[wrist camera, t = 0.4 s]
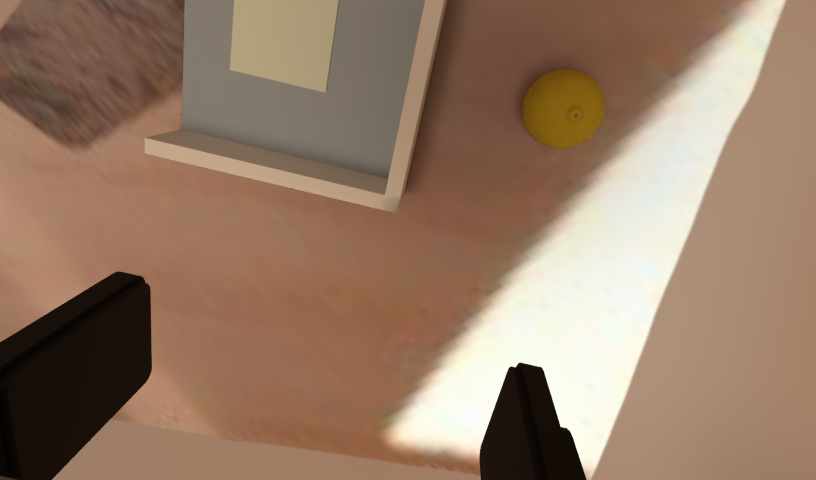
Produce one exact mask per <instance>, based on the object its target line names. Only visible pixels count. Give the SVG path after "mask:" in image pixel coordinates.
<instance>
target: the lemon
mask: <svg viewBox="0 0 816 480" xmlns="http://www.w3.org/2000/svg"><path fill="white" fill-rule="evenodd" d="M604 112H605V99H604V96H603V93H602V90H601V88H600V87H599V85H598V84H597V82H596V81H595V80H594V79H593V78H591V77H590V76H589V75H588V74H586V73H583V72H581V71H579V70H574V69H560V70H554V71H552V72H549V73H547V74H545V75H543V76H542V77H540V78H539V79H538V80H536V81H535V83H534V84H533V85H532V86H531V87H530V88H529V90H528V92H527V94H526V96H525V99H524V102H523V106H522V116H523V121H524V125H525V127H526V129H527V130H528V132H529V134H530V135H531V136H532V137H533V138H534V139H535V140H536V141H538V142H539V143H541V144H543V145H545V146H548V147H552V148H570V147H574V146H577V145H579V144H581V143H583V142H585V141H586V140H588V139H589V138H590V137H591V136H592V135H593V134H594V133H595V132H596V131H597V129H598V128H599V126H600V124H601V122H602V120H603V117H604Z"/></svg>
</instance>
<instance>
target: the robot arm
mask: <svg viewBox="0 0 816 480" xmlns="http://www.w3.org/2000/svg"><path fill="white" fill-rule="evenodd" d="M151 370H152V355H151V299H150V286H149V285H148V284H146V283H145V280H144V278H143V277H141V276H137V275H133V274H129V273H124V272H115V273H113V274H111V275H110V276H108V277H107V278H105V279H103V280H102V281H100V282H98V283H97V284H95V285H93V286H92V287H90V288H89V289H87V290H85V291H84V292H82V293H80V294H79V295H77V296H75V297H74V298H72V299H71V300H69V301H67V302H66V303H64V304H62V305H61V306H59V307H57V308H56V309H54V310H53V311H51V312H49V313H48V314H46V315H44V316H43V317H41V318H40V319H38V320H36V321H35V322H33V323H31V324H30V325H28V326H26V327H25V328H23V329H22V330H20V331H18V332H17V333H15V334H13V335H12V336H10V337H8V338H7V339H5V340H4V341H2V342H0V480H52V479H53V478H54V477H55V476H56V475H57V474H58V473H59V472H60V471H61V469H63V467H64V466H65V465H66V464H67V463H68V462H69V461H70V460H71V459H72V458H73V457H74V456H75V455H76V454H77V453H78V452H79V451H80V450H81V449H82V448H83V447H84V446H85V445H86V444H87V443H88V442H89V441H90V440H91V438H92V437H93V436H94V435H95V434H96V433H97V432H98V431H99V430H100V429H101V428H102V427H103V426H104V425H105V424H106V423H107V422H108V421H109V420H110V419H111V418H112V417H113V416H114V415H115V414H116V413H117V412H118V411H119V410H120V409H121V408H122V407H123V405H124V404H125V403H126V402H127V401H128V400H129V399H130V398H131V397H132V396H133V395H134V394H135V393H136V392H137V391H138V390H139V389H140V388H141V387H142V386H143V385H144V384H145V383H146V381H147V380H148V378H149V376H150V374H151ZM480 472H481V480H586V477H585V474H584V471H583V468H582V465H581V462H580V458H579V455H578V452H577V449H576V446H575V443H574V440H573V437H572V435H571V433H570V431H569V430H568V429H567V428H563V427H560V424H559V420H558V417H557V414H556V410H555V407H554V404H553V400H552V397H551V394H550V390H549V387H548V384H547V381H546V377H545V374H544V371H543V369H542V368H541V367H537V366H533V365H528V364H524V363H518V365H517V366H516V368H515V367H510V368H509V369H508V372H507V374H506V377H505V380H504V383H503V386H502V388H501V391H500V394H499V397H498V400H497V402H496V405H495V408H494V411H493V414H492V416H491V419H490V422H489V425H488V428H487V430H486V433H485V436H484V439H483V442H482V445H481V449H480Z"/></svg>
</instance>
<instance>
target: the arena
mask: <svg viewBox="0 0 816 480" xmlns="http://www.w3.org/2000/svg"><path fill="white" fill-rule="evenodd" d="M447 1H448V0H185V19H184V60H183V101H182V129H181V130H176V131H172V132H168V133H164V134H159V135H155V136H151V137H146V138H145V153H146V154H150V155H155V156H159V157H163V158H167V159H171V160H175V161H180V162H184V163H188V164H192V165H196V166H201V167H205V168H209V169H213V170H217V171H222V172H226V173H230V174H234V175H238V176H242V177H247V178H251V179H255V180H259V181H263V182H268V183H272V184H276V185H280V186H284V187H289V188H293V189H297V190H301V191H305V192H309V193H314V194H318V195H322V196H326V197H330V198H335V199H339V200H343V201H347V202H351V203H355V204H360V205H364V206H368V207H372V208H376V209H381V210H385V211H389V212H393V213H397V212H398V209H399V206H400V204H401V201H402V198H403V196H404V193H405V189H406V184H407V180H408V175H409V171H410V166H411V162H412V157H413V153H414V149H415V144H416V140H417V135H418V131H419V126H420V122H421V117H422V113H423V108H424V104H425V99H426V95H427V91H428V86H429V82H430V77H431V73H432V68H433V64H434V59H435V55H436V50H437V46H438V42H439V37H440V33H441V28H442V24H443V19H444V15H445V10H446V6H447Z"/></svg>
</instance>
